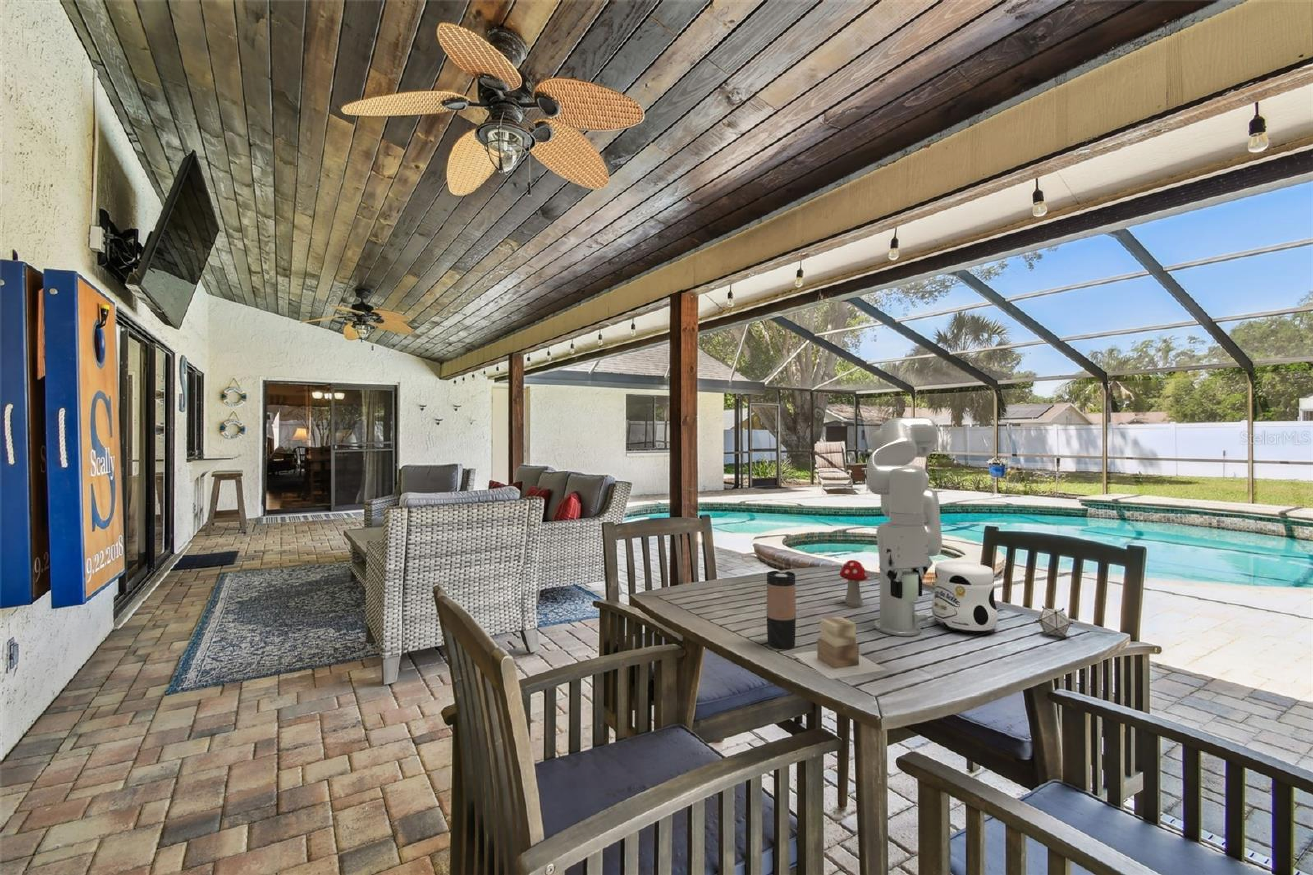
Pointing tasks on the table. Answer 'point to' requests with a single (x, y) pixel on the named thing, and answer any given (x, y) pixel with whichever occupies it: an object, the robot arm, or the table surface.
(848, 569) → the decorative mushroom
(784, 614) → the travel mug
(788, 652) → the table surface
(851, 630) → the tower top block
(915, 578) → the sage cylinder
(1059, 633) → the beige icosahedron ornament
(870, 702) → the table surface
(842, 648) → the tower base block
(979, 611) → the milk container
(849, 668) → the stone tile
